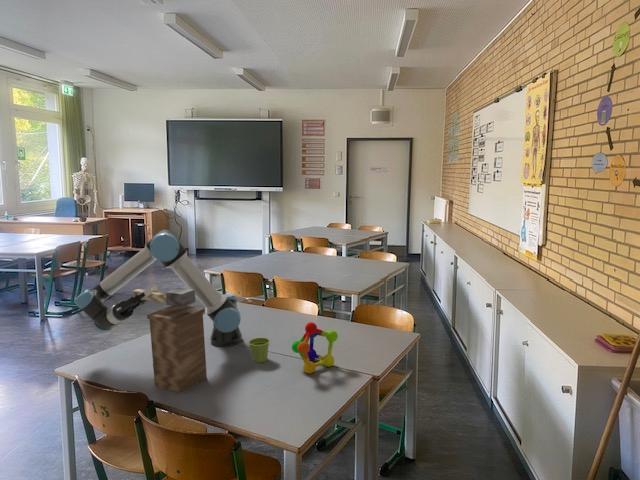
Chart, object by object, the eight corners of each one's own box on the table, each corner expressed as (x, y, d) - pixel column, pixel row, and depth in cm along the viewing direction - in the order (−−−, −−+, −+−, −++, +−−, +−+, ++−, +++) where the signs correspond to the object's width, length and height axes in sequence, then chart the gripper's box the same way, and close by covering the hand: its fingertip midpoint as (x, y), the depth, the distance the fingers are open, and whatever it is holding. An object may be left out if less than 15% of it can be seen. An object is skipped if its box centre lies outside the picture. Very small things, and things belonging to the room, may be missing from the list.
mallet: (195, 302, 177) (194, 289, 177) (182, 307, 171) (181, 294, 171) (142, 294, 190) (141, 283, 189) (129, 299, 184) (128, 287, 183)
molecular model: (304, 379, 181) (302, 329, 180) (280, 371, 192) (277, 324, 191) (341, 365, 196) (339, 319, 194) (316, 357, 207) (314, 314, 205)
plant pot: (245, 363, 199) (244, 343, 198) (255, 354, 208) (254, 336, 207) (264, 365, 196) (264, 346, 195) (274, 357, 205) (273, 338, 204)
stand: (208, 377, 186) (204, 308, 181) (182, 394, 173) (177, 319, 168) (180, 371, 192) (175, 304, 188) (152, 386, 179) (147, 314, 175)
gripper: (139, 314, 199) (172, 292, 188) (107, 326, 185) (142, 303, 174) (132, 298, 200) (164, 276, 189) (99, 309, 186) (133, 285, 175)
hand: (153, 289), depth 182 cm, fingers closed on mallet, 3 cm apart
